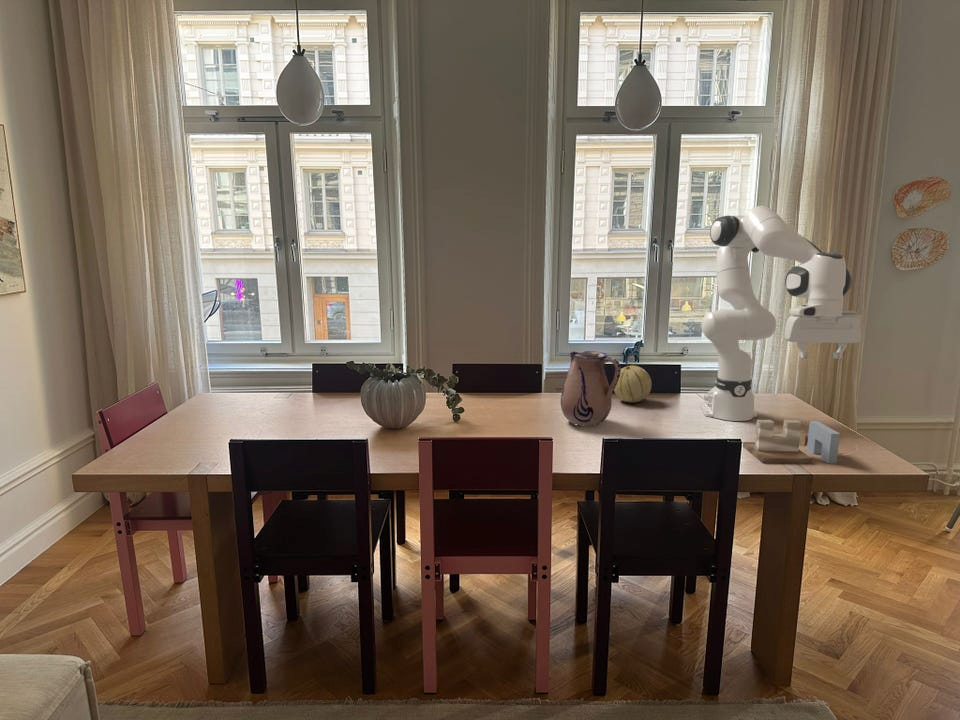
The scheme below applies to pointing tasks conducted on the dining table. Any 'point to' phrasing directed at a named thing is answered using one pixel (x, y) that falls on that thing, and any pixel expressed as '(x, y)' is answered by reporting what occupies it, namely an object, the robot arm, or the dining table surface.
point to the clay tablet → (802, 435)
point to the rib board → (777, 455)
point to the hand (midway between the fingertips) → (820, 358)
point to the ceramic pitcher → (588, 388)
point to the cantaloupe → (633, 384)
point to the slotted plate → (823, 441)
